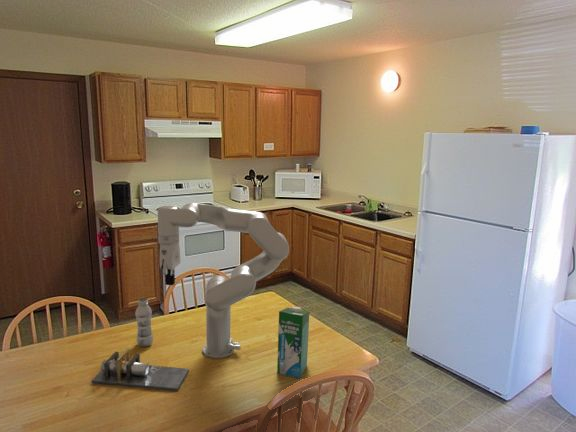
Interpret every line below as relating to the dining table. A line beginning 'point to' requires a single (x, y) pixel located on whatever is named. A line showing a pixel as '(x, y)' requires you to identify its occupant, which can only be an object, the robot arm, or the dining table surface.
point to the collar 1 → (106, 364)
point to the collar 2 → (128, 366)
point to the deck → (147, 378)
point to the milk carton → (293, 341)
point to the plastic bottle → (144, 323)
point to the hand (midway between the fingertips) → (170, 284)
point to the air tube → (135, 367)
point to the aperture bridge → (122, 357)
